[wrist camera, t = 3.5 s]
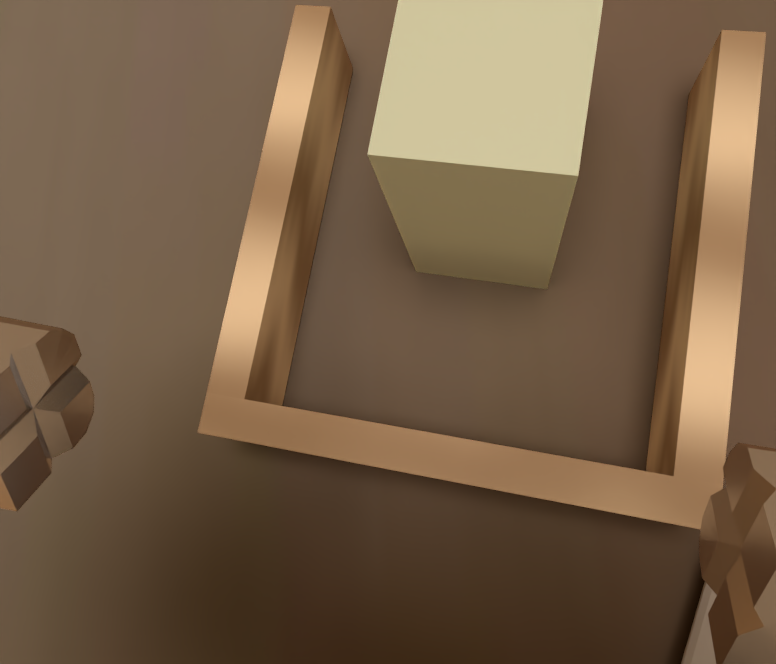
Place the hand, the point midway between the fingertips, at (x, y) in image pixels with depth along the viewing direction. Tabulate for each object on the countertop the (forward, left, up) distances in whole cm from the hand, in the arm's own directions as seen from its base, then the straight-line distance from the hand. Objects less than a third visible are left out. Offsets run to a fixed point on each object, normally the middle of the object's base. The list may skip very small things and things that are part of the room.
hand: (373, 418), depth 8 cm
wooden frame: (+6, +2, -14) cm, 15 cm away
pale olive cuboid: (+9, +3, -14) cm, 17 cm away
